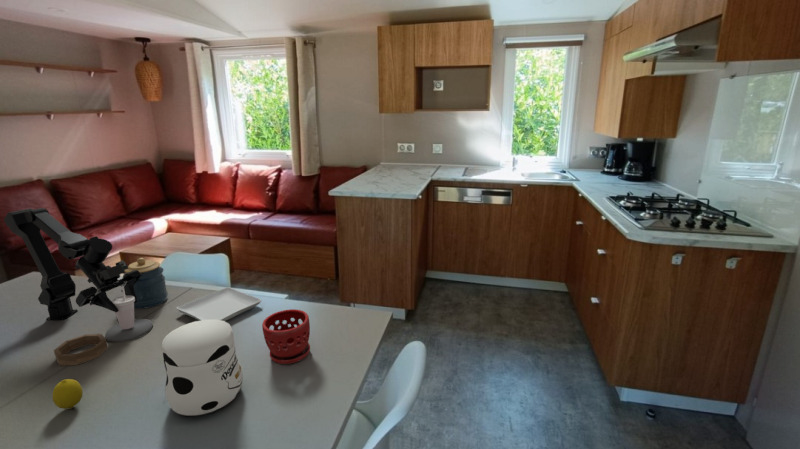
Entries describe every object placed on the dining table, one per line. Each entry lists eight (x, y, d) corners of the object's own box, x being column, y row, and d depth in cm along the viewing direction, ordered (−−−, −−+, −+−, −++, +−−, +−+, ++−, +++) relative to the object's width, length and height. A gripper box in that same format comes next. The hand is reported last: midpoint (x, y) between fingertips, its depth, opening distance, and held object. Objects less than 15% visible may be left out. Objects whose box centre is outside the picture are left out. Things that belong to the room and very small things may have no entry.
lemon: (67, 400, 100) (60, 373, 98) (90, 399, 101) (83, 372, 99) (50, 417, 95) (42, 388, 93) (75, 415, 96) (67, 387, 93)
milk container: (256, 397, 101) (248, 334, 96) (183, 435, 89) (170, 366, 85) (227, 368, 113) (219, 310, 108) (159, 398, 101) (146, 335, 96)
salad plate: (264, 307, 149) (263, 298, 148) (211, 333, 131) (210, 323, 130) (228, 294, 160) (227, 286, 159) (175, 316, 142) (174, 307, 141)
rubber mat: (120, 322, 138) (120, 319, 138) (160, 320, 139) (159, 317, 138) (96, 343, 125) (95, 340, 125) (139, 341, 126) (139, 338, 126)
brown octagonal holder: (75, 343, 125) (73, 335, 124) (114, 341, 126) (112, 333, 125) (47, 366, 114) (44, 357, 113) (90, 364, 115) (87, 355, 114)
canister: (155, 309, 146) (147, 264, 142) (120, 309, 147) (110, 264, 142) (175, 293, 159) (168, 252, 154) (143, 293, 159) (134, 252, 154)
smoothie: (134, 330, 129) (127, 289, 126) (112, 332, 128) (104, 291, 124) (142, 321, 135) (135, 282, 132) (120, 322, 134) (113, 283, 130)
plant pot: (296, 338, 128) (294, 304, 124) (320, 355, 119) (317, 319, 115) (257, 355, 119) (253, 318, 116) (279, 375, 110) (276, 336, 107)
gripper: (73, 266, 118) (107, 306, 117) (132, 247, 135) (162, 281, 134) (61, 287, 122) (94, 326, 122) (120, 265, 139) (149, 299, 139)
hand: (127, 306), depth 129 cm, fingers closed on smoothie, 6 cm apart
